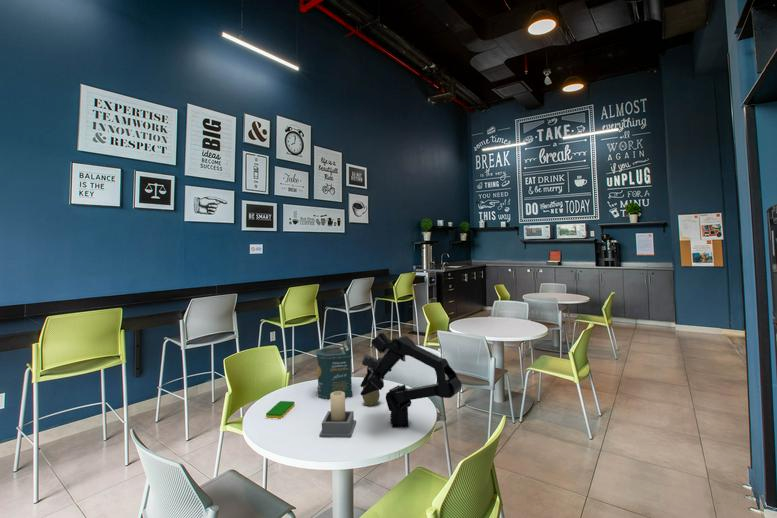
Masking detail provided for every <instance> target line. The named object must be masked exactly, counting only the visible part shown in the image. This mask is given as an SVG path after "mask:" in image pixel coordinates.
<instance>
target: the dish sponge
mask: <svg viewBox="0 0 777 518" xmlns="http://www.w3.org/2000/svg"><path fill="white" fill-rule="evenodd" d="M294 407H295V401H290V400H289V401H287V400H280V401H278V402H277V403H276V404H275V405H273V407H272V408H271V409H269V410H268V411H267V412H266V413H265V418H266V417H267V418H278V419H277V420H282V419H284V417H285V416H286V415H288V413H289V412H290V411H291V410H292V409H293V408H294ZM281 418H282V419H281Z"/></svg>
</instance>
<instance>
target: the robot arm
mask: <svg viewBox="0 0 777 518" xmlns="http://www.w3.org/2000/svg"><path fill="white" fill-rule="evenodd" d="M371 345H372V347H374V348H375V349H376V351H378V352H379V354H384V355H383V356H382V357H379V358H375V357H373V356H370V355H368V354H364V356H363V358H362V360H361V364H362V365H363V366H365V367H366V372H367V374H365V376H364V377H365V378H364V377H363V380H362V382H361V383H360V385H359V386H360V387H361V388H362V390H361V392H360V396H363V395H366V394H368V393H371V392H373V391H376V390H379V391H382V389H383V388H384V387H385V383H384V380H385V376H386V375H387V374H388V373H390V372H391V371H393V370H392V369H393V367H394V366H395V365H396V364H397V363H398V362H399V361H400V360H401V361H402V362H406V356H409V357H411V358H413V359H416V360H417V361H419V362H421V363H423V364H424V365H426V366H429V367H430V368H433V369H434V371H435V375H436V382H437V383H432V384H427V385H421V386H417V387H412V388H407V387H406V384H402V385H399V384H398V385H396V386H394V387H393V388H391V389H389V390H388V392H386V393H385V402H386V405H387V408H388V411H389V412H390V424H391V428H409V420H410V419H409V407H411V405H412V400H413V401H414V400H418V399H425V398H431V397H439V398H441V399H451V398H453V397H454V396H455V395H457V394H458V393H459V392H461V390H462V388H463V385H462V382H461V380H460V379H459V377H458V375H457V373H456V372H455V370H454V369H453V368H452V367H451V366H450V364H449V362H448V360H447V359H446V358H443V357H440V356H439V355H437V354H434V353H432V352H431V351H429V350H426V349H424V348H422V347H420V346H418V345H417V344H415V342H414V341H413V340H412V339H411V338H410V337H409V336H406V335H402V336H398V337H396V338H393V339H392V340H390V339H389V337H387V336H386V335H385V333H384V332H380V333H378V335H376V336H375V337H374V338H373V339H372V340H371ZM446 376H447V378H446ZM365 385H366V386H365ZM364 386H365V387H364ZM363 387H364V389H363Z"/></svg>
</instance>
